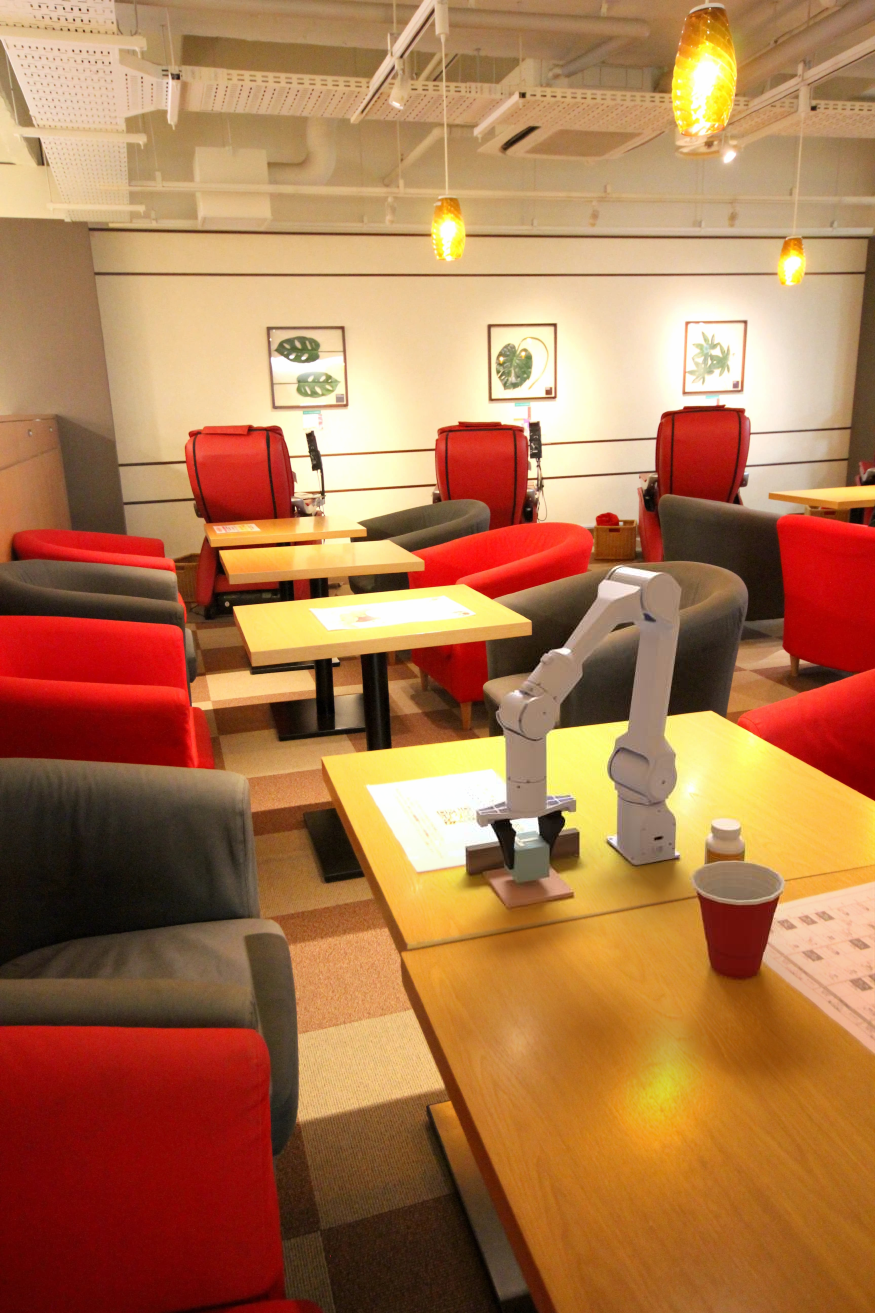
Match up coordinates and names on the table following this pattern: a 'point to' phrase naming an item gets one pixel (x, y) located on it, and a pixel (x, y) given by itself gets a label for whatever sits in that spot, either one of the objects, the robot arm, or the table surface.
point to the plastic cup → (737, 913)
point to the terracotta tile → (527, 888)
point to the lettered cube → (530, 857)
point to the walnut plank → (492, 857)
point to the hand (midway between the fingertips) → (527, 863)
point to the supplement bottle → (724, 842)
